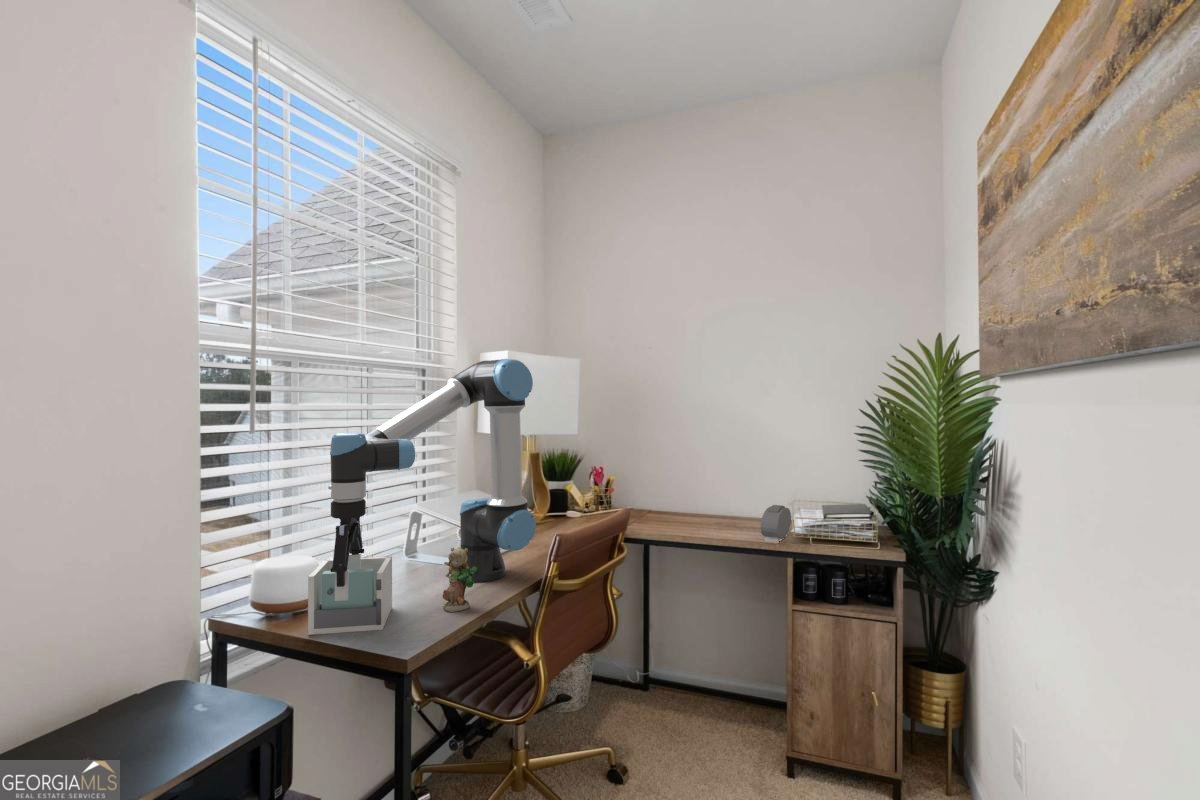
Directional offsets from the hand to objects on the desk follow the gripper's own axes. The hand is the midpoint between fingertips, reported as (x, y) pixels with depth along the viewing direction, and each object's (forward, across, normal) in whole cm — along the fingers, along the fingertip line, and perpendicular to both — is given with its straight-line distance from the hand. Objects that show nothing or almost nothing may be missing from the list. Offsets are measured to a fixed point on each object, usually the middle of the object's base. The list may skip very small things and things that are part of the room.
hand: (348, 590), depth 139 cm
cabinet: (+9, -5, 0) cm, 10 cm away
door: (+8, 0, 0) cm, 8 cm away
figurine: (+9, -9, +25) cm, 28 cm away
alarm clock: (+9, -63, +141) cm, 155 cm away
